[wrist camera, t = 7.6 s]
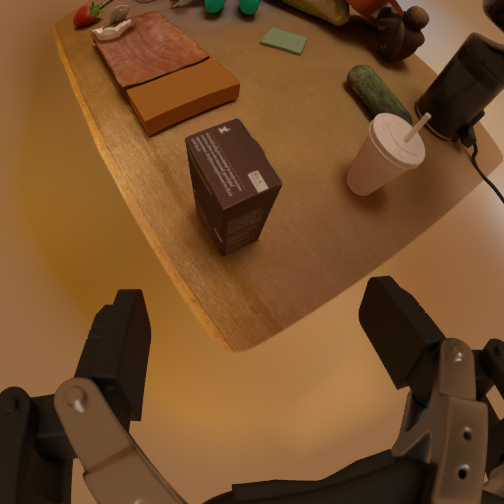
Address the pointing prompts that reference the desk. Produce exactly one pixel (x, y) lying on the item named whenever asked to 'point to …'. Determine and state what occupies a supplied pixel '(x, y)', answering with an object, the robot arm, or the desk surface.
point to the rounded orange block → (373, 8)
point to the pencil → (104, 3)
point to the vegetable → (375, 93)
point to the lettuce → (323, 9)
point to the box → (231, 184)
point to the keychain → (119, 14)
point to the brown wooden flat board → (165, 72)
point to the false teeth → (112, 30)
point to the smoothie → (386, 153)
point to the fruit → (87, 15)
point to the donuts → (246, 3)
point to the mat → (284, 40)
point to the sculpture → (399, 32)
